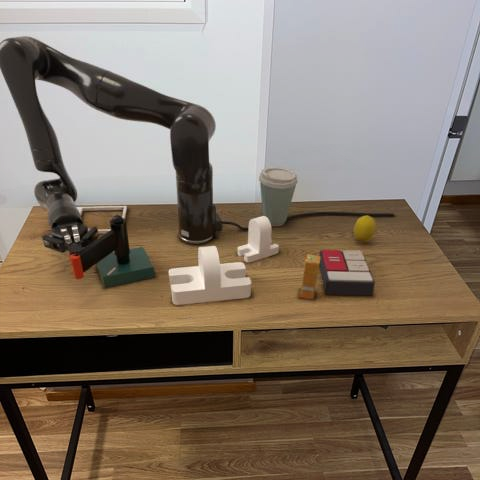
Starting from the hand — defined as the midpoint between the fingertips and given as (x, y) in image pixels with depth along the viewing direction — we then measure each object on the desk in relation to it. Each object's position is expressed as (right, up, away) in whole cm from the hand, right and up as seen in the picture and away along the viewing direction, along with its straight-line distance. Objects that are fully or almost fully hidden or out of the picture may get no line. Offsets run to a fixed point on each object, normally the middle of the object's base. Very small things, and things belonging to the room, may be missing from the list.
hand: (77, 255), depth 108 cm
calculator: (+61, -4, +14) cm, 62 cm away
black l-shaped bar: (+4, -2, +5) cm, 7 cm away
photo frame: (-6, +14, +33) cm, 36 cm away
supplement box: (+51, -8, +8) cm, 52 cm away
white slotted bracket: (+28, -7, +9) cm, 30 cm away
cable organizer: (+40, +3, +22) cm, 46 cm away
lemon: (+69, +7, +27) cm, 74 cm away
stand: (+7, -2, +13) cm, 15 cm away
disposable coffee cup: (+45, +14, +35) cm, 59 cm away
